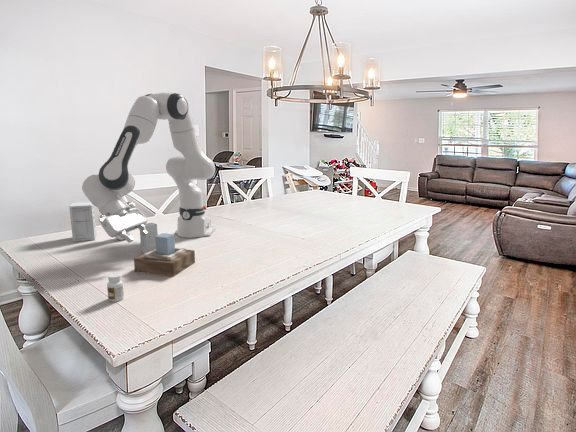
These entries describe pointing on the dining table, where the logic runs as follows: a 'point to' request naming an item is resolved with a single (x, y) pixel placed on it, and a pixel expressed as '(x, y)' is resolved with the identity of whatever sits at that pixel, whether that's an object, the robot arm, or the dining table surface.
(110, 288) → the pill bottle
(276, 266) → the dining table surface
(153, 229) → the skincare box
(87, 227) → the supplement box
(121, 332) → the dining table surface
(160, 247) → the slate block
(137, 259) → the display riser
